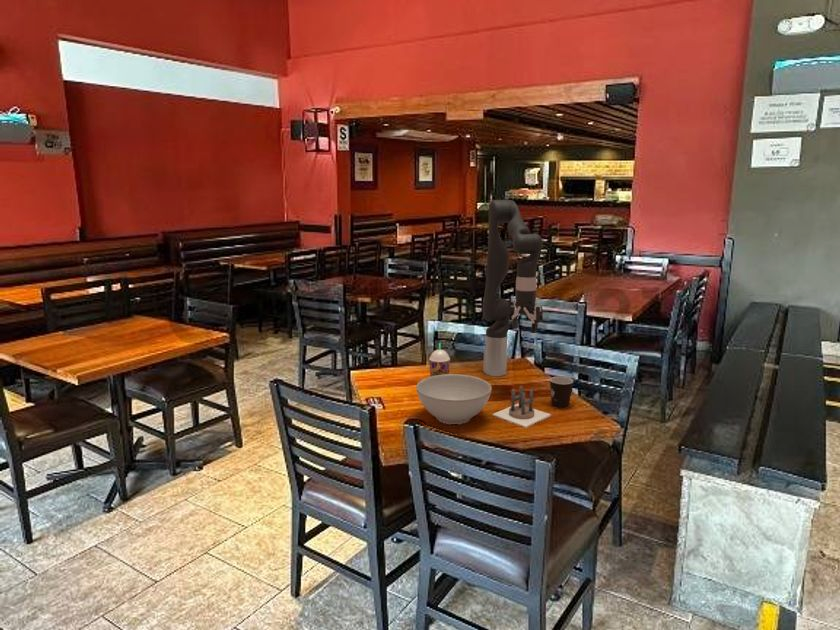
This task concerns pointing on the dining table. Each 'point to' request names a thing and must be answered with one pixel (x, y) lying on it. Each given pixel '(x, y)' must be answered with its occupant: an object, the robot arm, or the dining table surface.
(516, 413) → the stool
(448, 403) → the decorative bowl
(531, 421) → the mat
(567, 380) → the coffee mug
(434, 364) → the smoothie
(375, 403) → the dining table surface
